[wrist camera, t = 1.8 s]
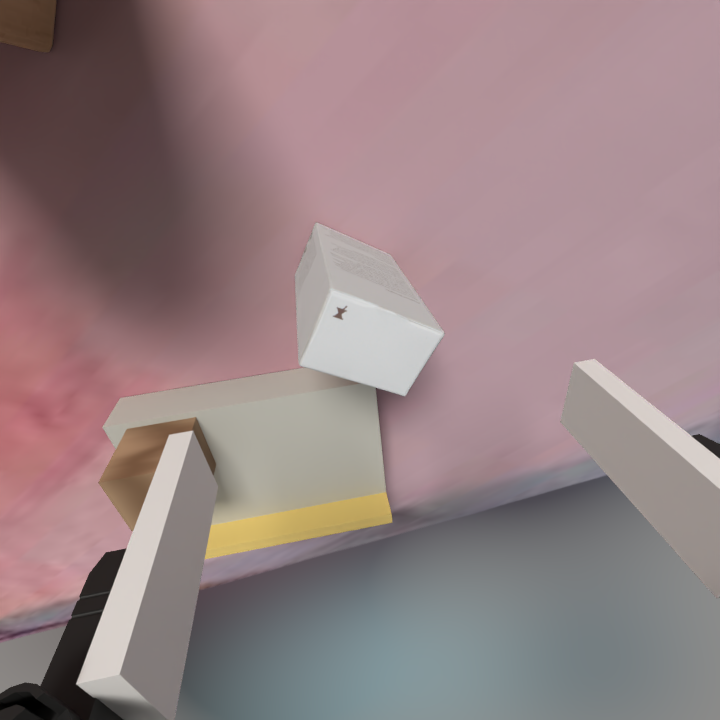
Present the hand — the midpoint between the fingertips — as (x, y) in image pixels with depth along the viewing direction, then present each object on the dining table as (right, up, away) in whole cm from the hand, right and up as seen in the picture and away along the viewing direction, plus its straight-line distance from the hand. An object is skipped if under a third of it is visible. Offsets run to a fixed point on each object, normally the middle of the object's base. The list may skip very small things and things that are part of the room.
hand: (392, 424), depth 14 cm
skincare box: (-2, +9, +15) cm, 18 cm away
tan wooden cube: (-15, -4, +16) cm, 23 cm away
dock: (-10, -5, +22) cm, 24 cm away
